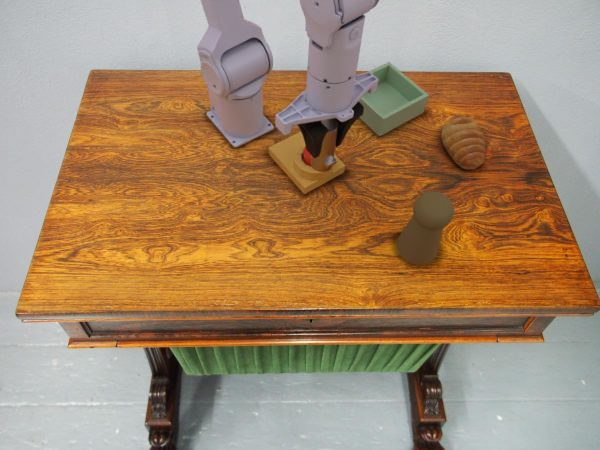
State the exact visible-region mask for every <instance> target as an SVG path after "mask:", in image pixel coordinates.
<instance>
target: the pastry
mask: <svg viewBox="0 0 600 450" xmlns="http://www.w3.org/2000/svg"><path fill="white" fill-rule="evenodd" d="M440 136H441V137H440V138H441V142H442V146H443V147H444V148H445V150H446V152H447V154H448V155H449V156H450V158H451V159H452V161H453V162H454V163H455V164H456V165H458V166H459V167H460V168H461V169H463V170H476V169H477V168H478V167H480V166H481V165H482V164H484V162H485V155H486V154H487V152H486V137H485V135H484V133H483V128H482V127H481V126H480V125H479V124H477V123H476V122H475V119H473V118H472V117H470V116H458V117H456V118H453V119H451V120H449V121H448V122H446V123H445V124H444V125H443V126H442V128H441V135H440Z"/></svg>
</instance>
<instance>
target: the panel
mask: <svg viewBox="0 0 600 450" xmlns="http://www.w3.org/2000/svg"><path fill="white" fill-rule="evenodd" d="M305 146H306V145H305V141H304V138H303V135H302V133H301V131H299V132H296V133H295V134H293V135H291V136H288V137H287V138H284V139H283V140H281V141H278V142H276V143H275V144H273V145H271V146H269V147H268V155H269V156H270V157H271V159H272V160H273V161H274V162H275V163H276V164H277V165H278V167H279V168H280V169H281V170H282V171H283V172H284V173H285V174H286V175H287V177H288V178H289V179H290V180H291V182H293V184H294V185H295V186H296V187H297V188H298V189H299V190H300V192H302V193H303V195H306V194H308V193H309V192H312V191H313V190H314V189H316V188H319V187H320V186H322V185H324V184H325V183H327V182H329V181H331V180H333V179H335V178H337V177H338V176H340V175H342V174H344V173H345V170H346V164H345V163H344V162H343V161H342V160H341V159H340V158H339V157H338V156H337V155H336V152H335V153H334V158H335V159H336V160H337V163H336V164H334V165H333V166H332V168H331V169H330V170H329V171H326V172H318V171H316V170H314V169H313V168H312V166H309V165H307V164H306V163H305V162H304V160H303V151H304V147H305Z"/></svg>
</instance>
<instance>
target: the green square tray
mask: <svg viewBox="0 0 600 450" xmlns="http://www.w3.org/2000/svg"><path fill="white" fill-rule="evenodd" d="M368 71H369V72H371V73H372V74H373V75H374V76H375V77H376V78H377V79H378V80H379V81H378V85H377V90H376V91H375V92H373V93H368V91H367V92H366V94H365V95H364V96H363V97H362V98H361V99H360V100H359V102H360V103H361V104H362V105H363V107H364V112H363V115H361V116H360V117H359V118H358V119H360V120H361V121H362V122H363V123H364V124H365V125H366V126H367V127H368V128H370V130H371V131H372V132H374V133H375V134H376V135H377V136H378V137H381V136H383V135H385V134H387V133H389V132H390V131H392V130H394V129H396V128H398V127H400V126H402V125H403V124H406V123H407V122H409V121H411V120H412V119H415V118H416V117H418V116H420V115H422V114H424V112H425V109H426V106H427V103H428V101H429V97H430V94H428V92H426V91H425V90H423V89H422V87H420V86H419V85H418V84H416V83H415V82H414V81H413V80H411V79H410V78H409V77H408V76H407V75H405V73H403V72H402V71H400V69H398V68H397V67H396V66H395V65H393V64H392V63H391V62H390V61H388V62H385V63H384V64H381V65H379V66H378V67H375V68H373V69H371V70H368Z"/></svg>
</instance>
